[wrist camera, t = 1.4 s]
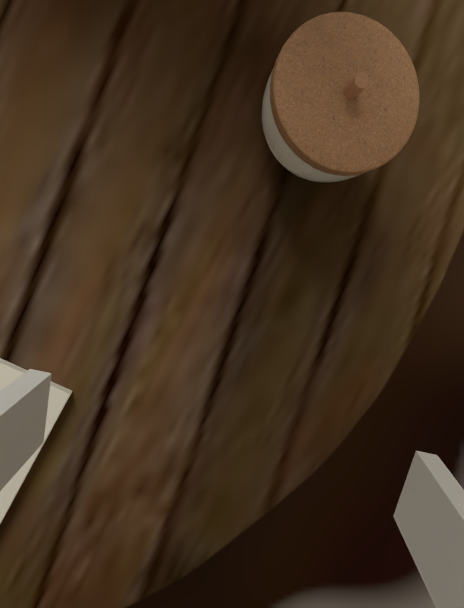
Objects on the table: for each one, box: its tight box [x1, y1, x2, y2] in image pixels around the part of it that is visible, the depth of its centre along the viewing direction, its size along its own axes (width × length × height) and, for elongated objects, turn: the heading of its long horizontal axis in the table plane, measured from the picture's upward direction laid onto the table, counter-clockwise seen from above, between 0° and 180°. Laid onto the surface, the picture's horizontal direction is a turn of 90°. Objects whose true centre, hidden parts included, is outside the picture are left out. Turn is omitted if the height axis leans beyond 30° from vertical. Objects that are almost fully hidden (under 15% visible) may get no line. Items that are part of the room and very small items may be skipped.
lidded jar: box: [262, 12, 419, 183], centre depth 31 cm, size 11×11×9 cm
